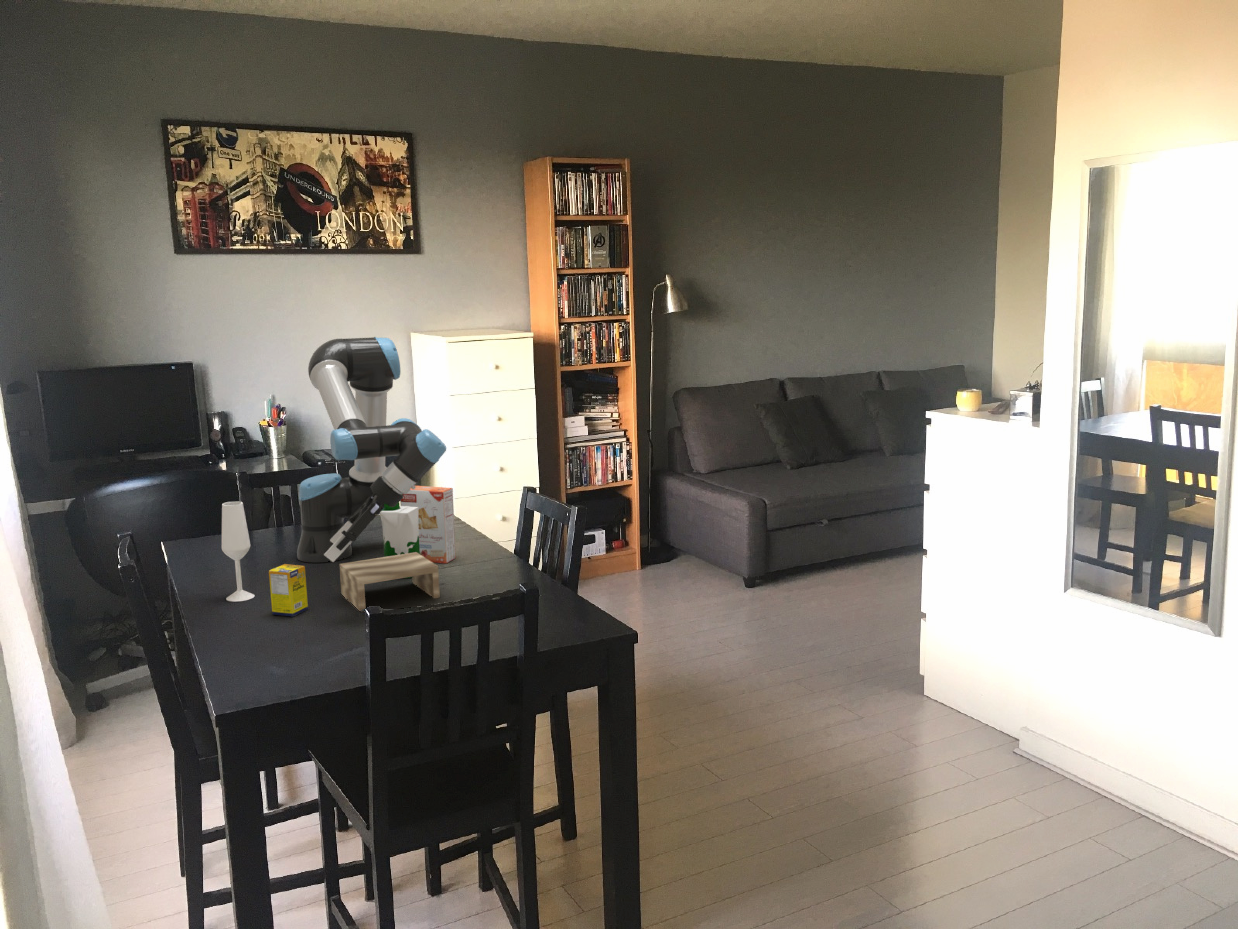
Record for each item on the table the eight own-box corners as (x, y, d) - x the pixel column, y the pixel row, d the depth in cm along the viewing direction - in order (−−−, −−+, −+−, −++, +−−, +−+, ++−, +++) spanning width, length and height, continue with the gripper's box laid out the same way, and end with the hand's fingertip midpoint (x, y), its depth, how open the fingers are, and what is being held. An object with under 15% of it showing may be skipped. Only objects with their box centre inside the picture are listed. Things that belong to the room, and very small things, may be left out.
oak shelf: (341, 594, 243) (339, 563, 242) (418, 581, 253) (416, 552, 252) (359, 611, 230) (357, 579, 228) (439, 597, 240) (438, 566, 238)
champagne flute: (226, 595, 244) (218, 502, 240) (254, 592, 247) (247, 499, 242) (225, 602, 238) (217, 507, 234) (254, 599, 240) (246, 505, 236)
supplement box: (308, 609, 232) (305, 565, 230) (292, 617, 226) (289, 572, 225) (288, 607, 234) (284, 563, 232) (271, 615, 228) (268, 570, 227)
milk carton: (394, 569, 265) (390, 497, 262) (425, 570, 264) (421, 498, 260) (380, 578, 257) (376, 504, 254) (412, 579, 255) (408, 505, 252)
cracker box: (402, 560, 274) (398, 488, 270) (413, 555, 279) (409, 484, 276) (446, 564, 269) (442, 490, 266) (456, 559, 275) (453, 486, 271)
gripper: (403, 506, 219) (339, 575, 218) (406, 486, 243) (348, 547, 243) (377, 484, 217) (313, 554, 216) (383, 466, 241) (324, 528, 241)
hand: (331, 551), depth 229 cm, fingers open, 13 cm apart
